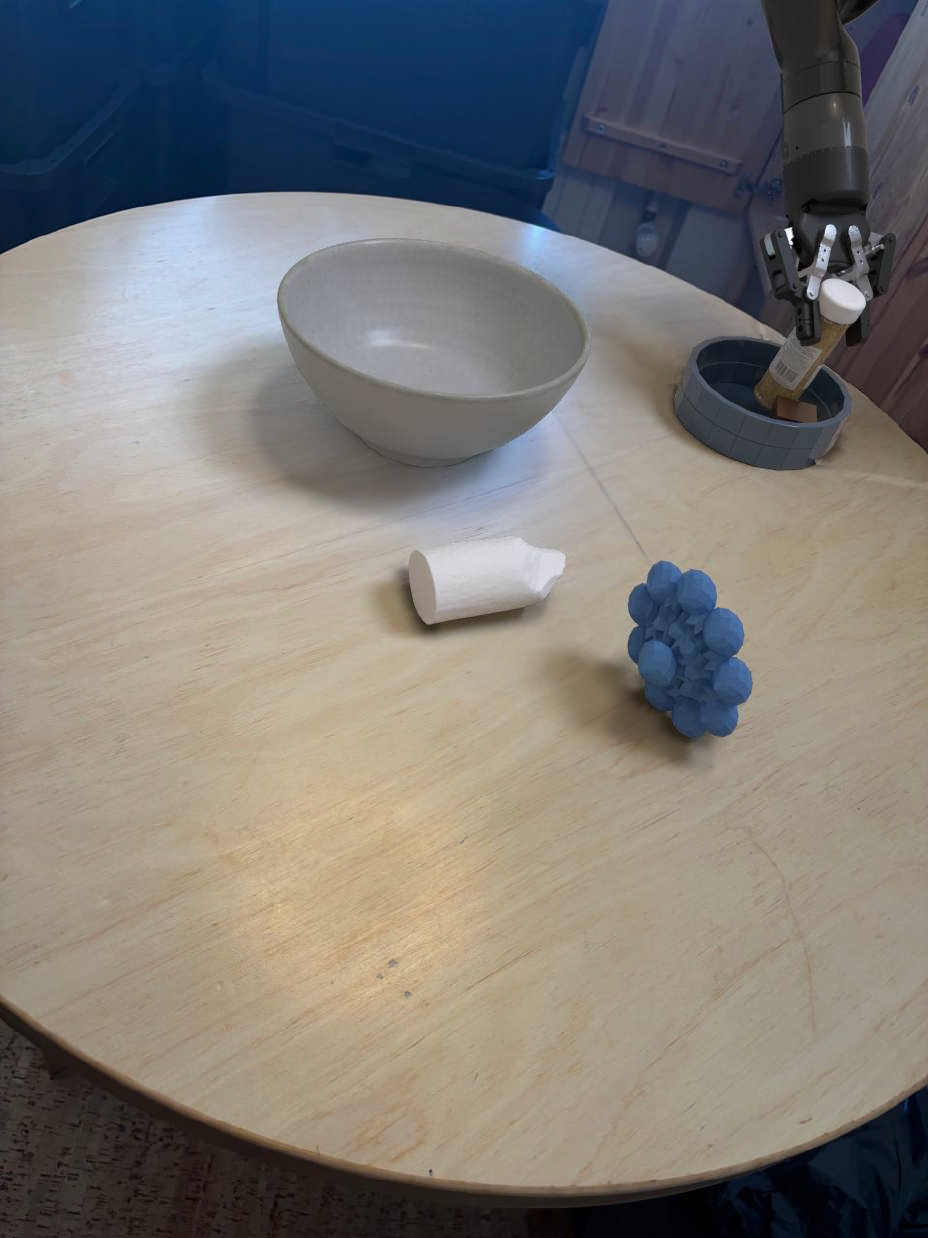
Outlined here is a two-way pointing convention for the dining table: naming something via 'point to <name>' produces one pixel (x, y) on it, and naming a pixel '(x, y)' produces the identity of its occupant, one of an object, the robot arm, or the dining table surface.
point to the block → (793, 411)
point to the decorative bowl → (430, 345)
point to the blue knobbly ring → (688, 650)
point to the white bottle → (481, 577)
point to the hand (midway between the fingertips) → (834, 343)
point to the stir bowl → (755, 406)
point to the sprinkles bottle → (804, 362)
